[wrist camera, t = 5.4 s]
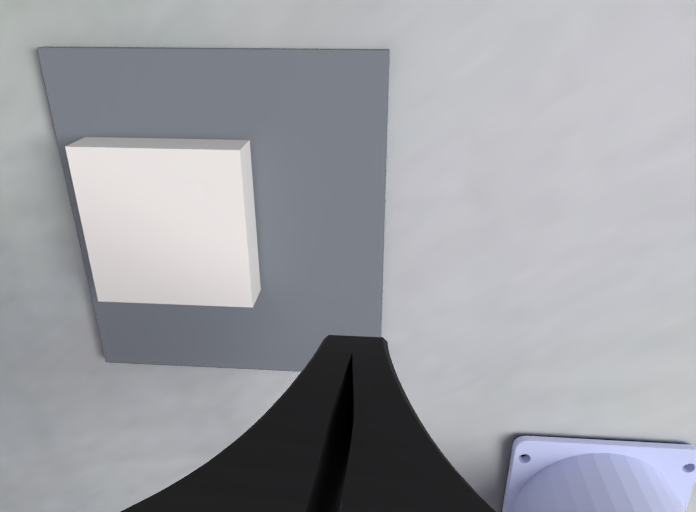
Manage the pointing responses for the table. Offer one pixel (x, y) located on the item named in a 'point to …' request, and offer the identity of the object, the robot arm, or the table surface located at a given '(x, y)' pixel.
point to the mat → (268, 185)
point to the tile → (168, 219)
